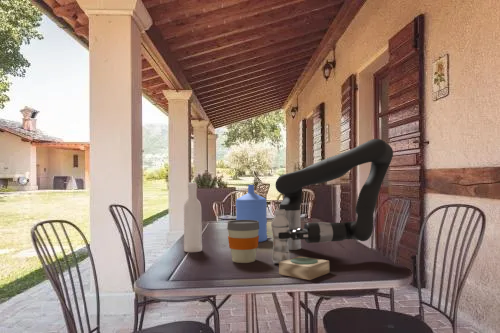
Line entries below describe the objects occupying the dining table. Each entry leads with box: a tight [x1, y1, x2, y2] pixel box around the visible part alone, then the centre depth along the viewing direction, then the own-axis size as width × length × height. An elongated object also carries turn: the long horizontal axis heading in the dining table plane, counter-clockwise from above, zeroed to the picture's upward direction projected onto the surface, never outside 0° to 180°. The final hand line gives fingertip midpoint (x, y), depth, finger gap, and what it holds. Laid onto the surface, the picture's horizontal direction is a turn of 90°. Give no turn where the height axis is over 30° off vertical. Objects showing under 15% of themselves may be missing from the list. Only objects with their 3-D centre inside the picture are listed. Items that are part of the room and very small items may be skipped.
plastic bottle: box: [271, 208, 291, 265], centre depth 150 cm, size 6×7×20 cm
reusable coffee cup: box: [226, 219, 260, 264], centre depth 157 cm, size 13×13×15 cm
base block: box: [278, 255, 330, 281], centre depth 135 cm, size 12×12×4 cm
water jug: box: [235, 184, 268, 243], centre depth 205 cm, size 16×16×28 cm
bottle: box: [183, 182, 203, 253], centre depth 178 cm, size 8×8×30 cm
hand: (276, 234), depth 150 cm, fingers open, 8 cm apart
